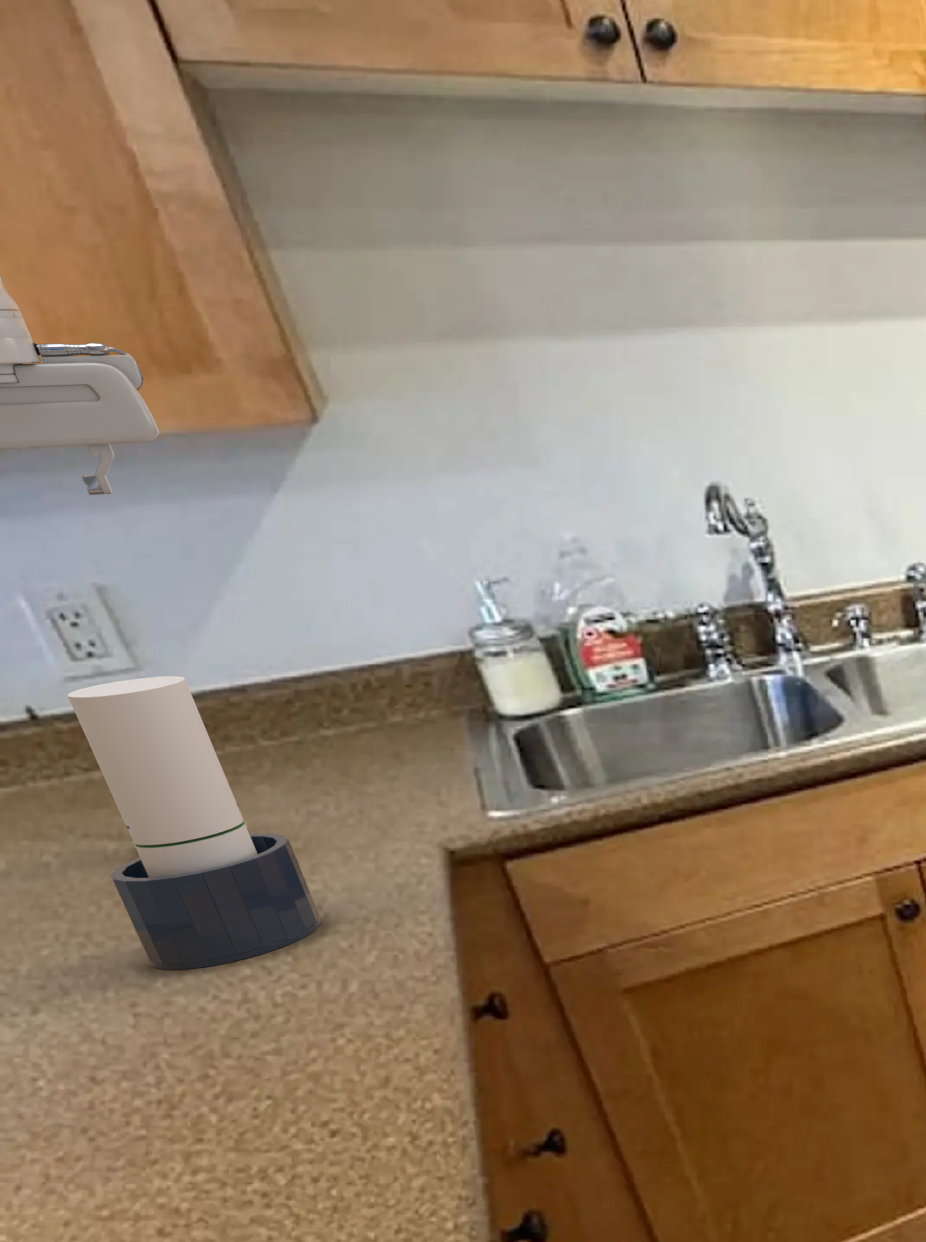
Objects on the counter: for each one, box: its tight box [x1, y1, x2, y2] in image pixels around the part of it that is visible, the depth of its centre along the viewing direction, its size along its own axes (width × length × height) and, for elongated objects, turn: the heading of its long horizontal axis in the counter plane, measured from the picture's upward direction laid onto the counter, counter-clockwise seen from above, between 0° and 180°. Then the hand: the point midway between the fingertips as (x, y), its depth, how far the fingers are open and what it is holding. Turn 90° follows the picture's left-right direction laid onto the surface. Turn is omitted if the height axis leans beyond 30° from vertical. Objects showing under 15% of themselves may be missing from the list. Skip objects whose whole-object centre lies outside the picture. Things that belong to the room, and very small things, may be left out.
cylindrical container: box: [67, 675, 257, 878], centre depth 122 cm, size 7×7×25 cm
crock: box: [109, 833, 322, 971], centre depth 125 cm, size 12×12×9 cm
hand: (26, 499), depth 124 cm, fingers open, 8 cm apart
